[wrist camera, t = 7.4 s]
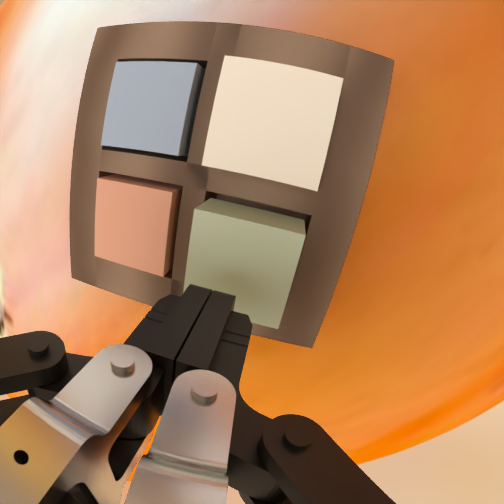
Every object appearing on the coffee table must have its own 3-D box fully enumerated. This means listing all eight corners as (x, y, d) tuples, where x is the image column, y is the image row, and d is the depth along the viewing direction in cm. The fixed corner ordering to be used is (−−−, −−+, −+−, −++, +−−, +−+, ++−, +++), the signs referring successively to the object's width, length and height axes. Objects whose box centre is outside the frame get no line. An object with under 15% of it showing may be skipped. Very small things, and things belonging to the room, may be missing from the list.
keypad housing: (376, 74, 14) (394, 60, 11) (310, 316, 20) (312, 348, 17) (126, 41, 15) (97, 27, 12) (99, 258, 21) (71, 277, 18)
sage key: (304, 219, 14) (305, 235, 12) (281, 302, 16) (278, 329, 14) (210, 197, 14) (194, 208, 12) (197, 281, 16) (182, 303, 14)
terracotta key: (189, 185, 16) (172, 192, 14) (179, 259, 18) (163, 276, 16) (121, 172, 17) (97, 178, 14) (115, 242, 18) (94, 255, 16)
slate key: (211, 74, 14) (197, 63, 12) (195, 153, 16) (178, 155, 13) (138, 69, 14) (116, 61, 12) (124, 143, 16) (100, 145, 14)
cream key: (335, 89, 12) (343, 78, 9) (313, 183, 14) (317, 191, 11) (236, 69, 12) (224, 55, 10) (217, 161, 14) (201, 165, 11)
